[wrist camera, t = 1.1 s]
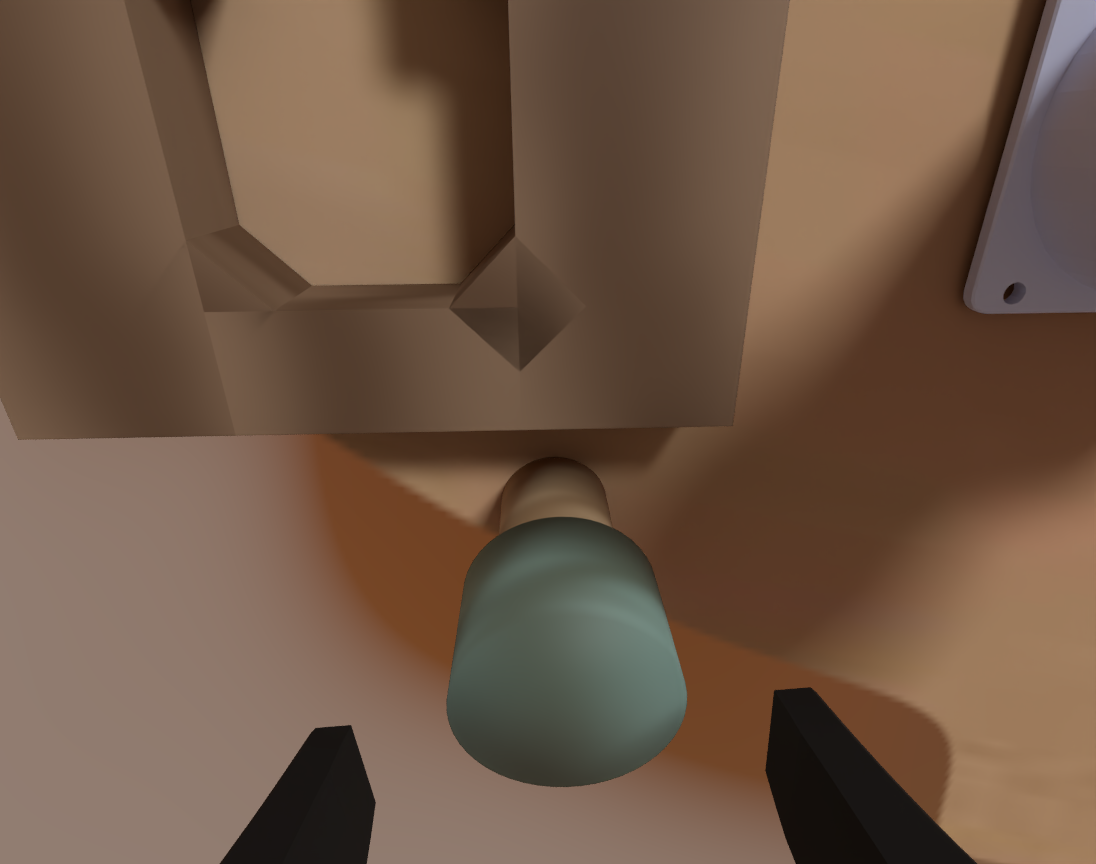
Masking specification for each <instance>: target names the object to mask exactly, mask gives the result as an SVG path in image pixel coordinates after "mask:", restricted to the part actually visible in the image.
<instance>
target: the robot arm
mask: <svg viewBox="0 0 1096 864" xmlns="http://www.w3.org/2000/svg"><path fill="white" fill-rule="evenodd" d="M1013 283H1014V290H1013V292H1012V294H1011V295H1010V296H1009V297H1008V298H1006V299H1004V300H1003V294H1004V292H1005V290H1006V288H1007V287H1009V286H1010V285H1011V284H1013ZM963 300H964V302H965V305H966V306H967V307H968V308H970V309H971V310H974V311H976V312H979V313H984V314H1015V313H1078V312H1096V0H1047V1H1046V4H1045V8H1044V11H1043V15H1042V18H1041V22H1040V25H1039V29H1038V32H1037V36H1036V39H1035V43H1034V46H1033V50H1032V53H1031V57H1030V60H1029V64H1028V67H1027V71H1026V74H1025V78H1024V81H1023V85H1022V89H1021V92H1020V96H1019V99H1018V103H1017V106H1016V110H1015V113H1014V117H1013V120H1012V124H1011V127H1010V131H1009V134H1008V138H1007V141H1006V145H1005V148H1004V152H1003V155H1002V159H1001V162H1000V166H999V169H998V173H997V176H996V180H995V183H994V187H993V190H992V194H991V197H990V201H989V204H988V208H987V211H986V215H985V218H984V222H983V225H982V229H981V232H980V236H979V239H978V243H977V246H976V250H975V253H974V257H973V260H972V264H971V267H970V271H969V275H968V278H967V282H966V285H965V289H964V295H963ZM766 774H767V778H768V781H769V784H770V788H771V791H772V795H773V798H774V802H775V805H776V809H777V812H778V815H779V818H780V822H781V825H782V828H783V831H784V834H785V838H786V840H787V843H788V845H789V848H790V850H791V853H792V855H793V858H794V860H795V863H796V864H977V863H976V862H975V861H974V860H973V859H972V858H971V857H970V856H969V855H968V854H967V853H966V852H965V851H964V850H962V849H961V848H960V847H959V846H958V845H957V844H956V843H955V842H954V841H953V840H952V839H951V838H950V837H949V836H948V835H947V834H946V833H945V832H944V831H943V830H942V829H941V828H940V827H939V826H938V825H937V824H936V823H935V822H934V821H933V820H932V819H931V817H929V815H928V814H926V812H925V811H924V810H923V809H922V808H921V807H920V806H919V805H918V804H917V803H916V802H915V801H914V800H913V799H912V798H911V797H910V796H909V795H908V794H907V793H906V792H905V791H904V789H903V788H902V787H901V786H900V785H899V784H898V783H897V782H896V781H895V780H894V779H893V778H892V777H891V776H890V775H889V774H888V773H887V771H886V770H885V769H884V768H883V767H882V766H881V765H880V764H879V763H878V762H877V761H876V759H875V758H874V757H873V756H872V755H871V754H870V753H869V752H868V751H867V750H866V748H865V747H864V746H863V745H862V744H861V743H860V742H859V741H858V740H857V738H856V737H855V736H854V735H853V734H852V733H851V732H850V731H849V729H848V728H847V727H846V726H845V725H844V724H843V723H842V722H841V720H840V719H839V718H838V717H837V716H836V715H835V713H834V712H833V711H832V710H831V709H830V708H829V707H828V706H827V704H826V703H825V702H824V701H823V700H822V698H821V697H820V696H819V695H818V694H817V693H816V692H815V691H814V690H813V689H812V688H797V689H785V690H775V691H774V697H773V706H772V716H771V725H770V734H769V743H768V752H767V762H766ZM375 803H376V802H375V799H374V796H373V793H372V790H371V786H370V783H369V780H368V777H367V774H366V771H365V768H364V764H363V761H362V758H361V755H360V752H359V749H358V746H357V743H356V740H355V737H354V733H353V730H352V727H351V725H348V726H335V727H323V728H315V729H314V730H313V731H312V732H311V734H310V735H309V737H308V738H307V740H306V741H305V742H304V744H303V746H302V747H301V749H300V750H299V751H298V753H297V754H296V756H295V757H294V759H293V760H292V762H291V763H290V765H289V766H288V768H287V769H286V771H285V772H284V774H283V775H282V777H281V778H280V780H279V781H278V782H277V784H276V785H275V787H274V788H273V790H272V791H271V793H270V794H269V796H268V797H267V799H266V800H265V802H264V803H263V804H262V806H261V807H260V808H259V810H258V811H257V813H256V814H255V816H254V817H253V819H252V820H251V821H250V823H249V824H248V826H247V827H246V828H245V830H244V831H243V832H242V834H241V835H240V836H239V838H238V839H237V841H236V842H235V844H234V845H233V846H232V848H231V849H230V850H229V852H228V853H227V855H226V856H225V857H224V859H223V860H222V861H221V863H220V864H367V858H368V851H369V845H370V838H371V831H372V825H373V817H374V810H375Z"/></svg>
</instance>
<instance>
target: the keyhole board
mask: <svg viewBox="0 0 1096 864" xmlns="http://www.w3.org/2000/svg"><path fill="white" fill-rule="evenodd" d="M789 2H790V0H508V16H509V47H510V79H511V111H512V143H513V175H514V207H515V225H514V226H513V227H512V228H511V229H510V230H509V232H508V233H507V234H506V235H505V236H504V237H503V238H502V239H501V240H500V241H499V243H498V244H497V245H496V246H495V247H494V248H493V249H492V250H491V251H490V252H489V254H488V255H487V256H486V257H485V258H484V259H483V260H482V261H481V262H480V263H479V264H478V266H477V267H476V268H475V269H474V270H473V271H472V272H471V273H470V274H469V275H468V277H467V278H466V279H465V280H464V281H463V282H462V283H461V284H406V285H338V286H312V285H310V284H309V283H308V282H307V281H306V280H304V279H303V278H302V277H301V276H300V275H298V274H297V273H296V272H295V271H294V270H292V269H291V268H290V267H289V266H288V265H286V264H285V263H284V262H283V261H282V260H280V259H279V258H278V257H277V256H276V255H274V254H273V253H272V252H271V251H270V250H269V249H267V248H266V247H265V246H264V245H263V244H261V243H260V242H259V241H258V240H257V239H255V238H254V237H253V236H252V235H251V234H249V233H248V232H247V231H246V230H245V229H243V228H242V227H241V226H240V225H239V222H238V217H237V213H236V208H235V204H234V199H233V195H232V190H231V185H230V181H229V176H228V172H227V167H226V162H225V158H224V153H223V149H222V144H221V139H220V135H219V130H218V126H217V121H216V116H215V112H214V107H213V103H212V98H211V94H210V89H209V84H208V80H207V75H206V71H205V66H204V61H203V57H202V52H201V48H200V43H199V38H198V34H197V29H196V25H195V20H194V16H193V11H192V6H191V2H190V0H0V398H1V401H2V403H3V405H4V408H5V410H6V412H7V415H8V417H9V419H10V422H11V424H12V426H13V429H14V431H15V433H16V435H17V438H18V440H24V439H25V440H26V439H78V438H128V437H129V438H130V437H182V436H235V435H288V434H340V433H392V432H444V431H496V430H549V429H601V428H653V427H705V426H733V419H734V412H735V404H736V397H737V389H738V382H739V375H740V367H741V360H742V352H743V345H744V337H745V330H746V322H747V315H748V307H749V300H750V293H751V285H752V278H753V270H754V263H755V255H756V248H757V240H758V233H759V225H760V218H761V210H762V203H763V196H764V188H765V181H766V173H767V166H768V158H769V151H770V143H771V136H772V128H773V121H774V114H775V106H776V99H777V91H778V84H779V76H780V69H781V61H782V54H783V46H784V39H785V31H786V24H787V17H788V9H789Z"/></svg>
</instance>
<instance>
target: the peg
mask: <svg viewBox="0 0 1096 864" xmlns="http://www.w3.org/2000/svg"><path fill="white" fill-rule="evenodd" d="M686 706H687V691H686V684H685V680H684V677H683V673H682V670H681V667H680V663H679V659H678V656H677V652H676V649H675V645H674V642H673V638H672V635H671V631H670V627H669V624H668V620H667V617H666V613H665V610H664V606H663V603H662V599H661V596H660V592H659V589H658V585H657V582H656V578H655V575H654V572H653V569H652V566H651V564H650V562H649V561H648V559H647V557H646V556H645V554H644V553H643V552H642V550H641V549H640V548H639V547H638V546H637V545H636V544H635V543H634V542H633V541H632V540H631V539H630V538H628V537H627V536H626V535H624V534H623V533H621V532H619V531H618V530H616V529H614V528H613V527H612V522H611V518H610V513H609V508H608V503H607V499H606V494H605V490H604V487H603V485H602V483H601V481H600V479H599V478H598V477H597V475H596V474H595V473H594V472H593V471H592V470H591V469H589V468H588V467H587V466H585V465H583V464H581V463H579V462H577V461H574V460H571V459H567V458H559V457H551V458H544V459H539V460H536V461H533V462H531V463H528V464H526V465H525V466H523V467H522V468H520V469H519V470H518V471H516V472H515V473H514V475H513V476H512V477H511V478H510V479H509V481H508V482H507V484H506V486H505V488H504V491H503V495H502V503H501V516H500V528H499V535H498V536H497V537H496V538H494V539H493V540H492V541H490V542H489V543H488V544H487V545H486V546H485V547H484V548H483V549H482V550H481V551H480V552H479V554H478V555H477V556H476V558H475V559H474V561H473V562H472V564H471V566H470V568H469V570H468V572H467V575H466V578H465V582H464V589H463V595H462V602H461V608H460V615H459V622H458V628H457V635H456V642H455V649H454V656H453V661H452V668H451V675H450V681H449V688H448V695H447V716H448V720H449V724H450V727H451V729H452V731H453V734H454V736H455V737H456V739H457V740H458V742H459V744H460V745H461V746H462V747H463V748H464V749H465V751H466V752H467V753H468V754H469V755H471V756H472V757H473V758H474V759H475V760H477V761H478V762H479V763H480V764H482V765H483V766H485V767H486V768H488V769H490V770H492V771H494V772H496V773H498V774H500V775H503V776H505V777H507V778H510V779H513V780H517V781H520V782H523V783H529V784H534V785H540V786H550V787H571V786H583V785H590V784H596V783H600V782H604V781H608V780H611V779H614V778H617V777H620V776H623V775H625V774H627V773H629V772H631V771H633V770H635V769H637V768H639V767H641V766H642V765H644V764H646V763H647V762H649V761H650V760H651V759H652V758H654V757H655V756H657V755H658V754H659V753H660V752H661V751H662V750H663V749H664V748H665V747H666V746H667V745H668V744H669V743H670V741H671V740H672V739H673V738H674V736H675V735H676V733H677V731H678V729H679V728H680V726H681V723H682V721H683V718H684V716H685V711H686Z"/></svg>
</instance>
